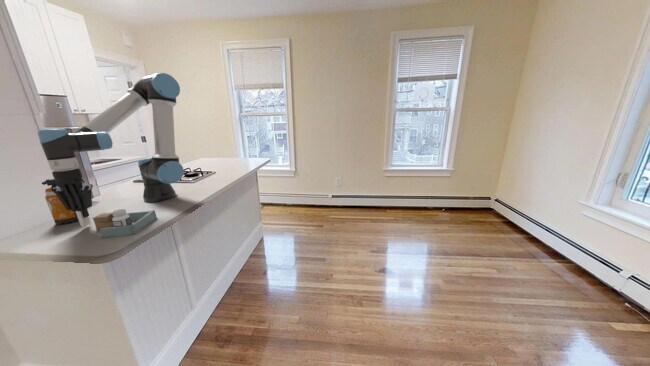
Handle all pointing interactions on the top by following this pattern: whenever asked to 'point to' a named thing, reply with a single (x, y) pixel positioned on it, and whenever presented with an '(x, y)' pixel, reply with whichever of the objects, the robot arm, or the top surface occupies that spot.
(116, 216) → the pill bottle
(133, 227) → the box
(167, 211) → the top surface
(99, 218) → the tan block
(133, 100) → the robot arm
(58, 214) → the canister
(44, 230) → the top surface
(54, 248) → the top surface
